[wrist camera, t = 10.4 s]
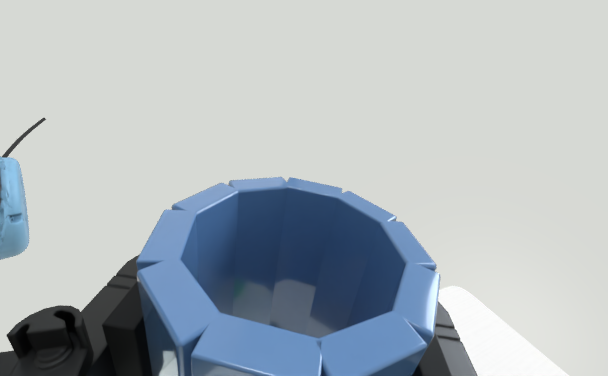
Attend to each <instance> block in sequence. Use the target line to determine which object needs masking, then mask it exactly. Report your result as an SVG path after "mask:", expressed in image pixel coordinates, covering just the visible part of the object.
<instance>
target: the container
mask: <svg viewBox="0 0 608 376" xmlns="http://www.w3.org/2000/svg"><path fill="white" fill-rule="evenodd" d="M136 263H137V269H138V271H137V281H138V287H139V294H140V300H141V306H142V312H143V319H144V325H145V331H146V337H147V344H148V350H149V356H150V362H151V369H152V375H153V376H412V375H413V373H414V372H415V370H416V368H417V366H418V364H419V363H420V361H421V359H422V357H423V355H424V353H425V352H426V350H427V348H428V346H429V344H430V343H431V341H432V339H433V337H434V333H435V324H436V314H437V305H438V295H439V285H440V274H438V273H437V272H435V269H436V264H435V262H434V261H433V260H432V259H431V257H430V256H429V255H428V254H427V252H426V251H425V250H424V248H423V247H422V246H421V244H420V243H419V242H418V241H417V239H416V238H415V237H414V236H413V234H412V233H411V232H410V230H409V229H408V228H407V227H406V225H405V224H404V223H403V222H398V221H396V216H395V215H393V214H391V213H389V212H387V211H386V210H384V209H382V208H380V207H378V206H376V205H374V204H373V203H371V202H369V201H367V200H365V199H363V198H361V197H359V196H358V195H356V194H354V193H352V192H350V191H347V192H344V193H342V188H338V187H334V186H329V185H324V184H320V183H315V182H310V181H305V180H301V179H296V178H289V179H288V181H287V182H286V181H285V180H284V178H282V177H274V178H259V179H244V180H231V181H229V185H227V184H224V183H219V184H217V185H215V186H213V187H210V188H208V189H206V190H204V191H201V192H199V193H197V194H195V195H193V196H191V197H188V198H186V199H184V200H182V201H180V202H177V203H175V204H174V205H172V210H164V212H163V214H162V215H161V217H160V219H159V221H158V223H157V225H156V226H155V228H154V230H153V232H152V234H151V235H150V237H149V239H148V241H147V243H146V245H145V246H144V248H143V250H142V252H141V254H140V255H139V257H138V259H137V261H136Z"/></svg>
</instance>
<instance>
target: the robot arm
mask: <svg viewBox="0 0 608 376" xmlns="http://www.w3.org/2000/svg"><path fill="white" fill-rule="evenodd" d="M44 120H46V119H45V118H43V119H41V120H40V121H39V122H37V123H36V124H35V125H33V126H32V127H31V128H30V129H28V130H27V131H26V132H25V133H24V134H23V135H22V136H21V137H19V138H18V139H17V140H16V141H15V142H14V144H12V146H11V147H10V148H9V149H8V150H7V151H6V152H5V154H4V155H3V156H2V157H0V260H1V259H5V258H8V257H13V256H16V255H18V254H20V253H22V252H23V251H24V250H25V249H26V248H27V246H28V243H29V227H28V215H27V207H26V199H25V191H24V186H23V179H22V174H21V169H20V165H19V163H18V161H16V160H15V159H13V158H7V157H8V155H9V154H10V153H11V152H12V150H13V149H14V148H15V147H16V146H17V145H18V144H19V143H20V141H21V140H22V139H23V138H24V137H26V136H27V135H28V134H29V133H30V132H31V131H32V130H33V129H35V128H36V127H37V126H38V125H39V124H41V123H42V122H43V121H44ZM138 257H139V255H138V256H136V257H135V258H133V259H131V260H130V261H128V262H127V263H126V264H125V265H124V266H123V267H122V268H121V269H120V270H119V271H118V273H117V275H116V276H114V277H113V278H112V279H111V280H110V281H109V282H108V283H107V286H105V287H104V288H103V289H102V290H101V291H100V292H99V293H98V294H97V295H96V296H95V297H94V298H93V300H92V301H91V302H90V303H89V304H88V305H87V306H86V307H85V308H84V309H83V310H82V311H81V312H80V311H79V309H76V308H74V307H72V306H55V307H50V308H46V309H43V310H41V311H39V312H36V313H34V314H32V315H29V316H28V317H27V318H25V319H24V320H22V321H21V322H19V323H18V324H16V325H15V327H14V328H13V329H12V330H11V331H10V332H9V333H8V334H7V337H8V339H9V341H10V343H11V345H12V347H13V349H14V351H8V352H1V353H0V376H153V375H152V369H151V362H150V356H149V350H148V344H147V337H146V331H145V325H144V319H143V312H142V306H141V300H140V294H139V287H138V281H137V271H138V269H137V263H136V261H137V259H138ZM412 376H477V373H476V371H475V369H474V367H473V365H472V363H471V361H470V359H469V356H468V354H467V352H466V350H465V348H464V346H463V344H462V342H460V337H459V335H458V333H457V331H456V330H455V329H454V325H453V322H452V320H451V318H450V316H449V314H448V312H447V311H446V310H445V309H444V307H443V306H442V305H441V304H440V303H439V302H438V305H437V314H436V324H435V333H434V337H433V339H432V341H431V343H430V344H429V346H428V348H427V350H426V352H425V353H424V355H423V357H422V359H421V361H420V363H419V364H418V366H417V368H416V370H415V372H414V373H413V375H412Z"/></svg>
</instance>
